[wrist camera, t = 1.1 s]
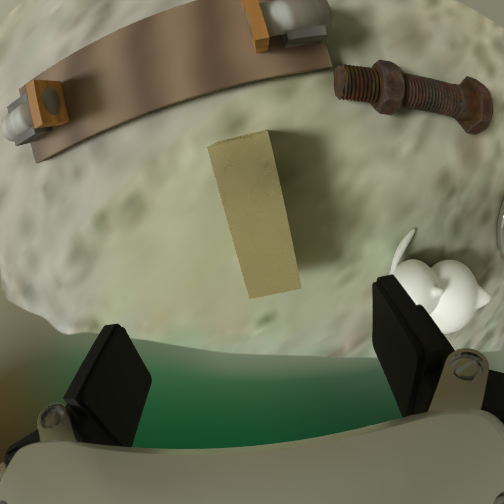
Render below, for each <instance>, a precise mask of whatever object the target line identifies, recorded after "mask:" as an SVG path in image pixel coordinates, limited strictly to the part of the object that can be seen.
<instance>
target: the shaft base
mask: <svg viewBox="0 0 504 504" xmlns="http://www.w3.org/2000/svg"><path fill="white" fill-rule="evenodd" d="M330 27H331V12H330V8H329V5H328V2H327V0H197V1H193V2H190V3H187V4H184V5H181V6H177V7H175V8H172V9H169V10H166V11H163V12H160V13H158V14H155V15H152V16H150V17H147V18H145V19H142V20H140V21H138V22H135V23H133V24H131V25H128V26H126V27H124V28H122V29H119V30H117V31H115V32H113V33H111V34H109V35H107V36H105V37H103V38H101V39H99V40H97V41H95V42H93V43H91V44H89V45H87V46H86V47H84V48H82V49H80V50H78V51H77V52H75V53H73V54H71V55H70V56H68V57H66V58H65V59H63V60H61V61H60V62H58V63H56V64H55V65H53V66H52V67H50V68H49V69H47V70H46V71H44V72H43V73H41V74H40V75H38V76H37V77H35V78H34V79H32V80H31V81H30V82H28V83H27V84H25V85H24V86H23V87H21V88H20V89H19V92H20V98H18V99H17V100H16V101H14V102H13V103H12V104H10V105H9V106H8V107H7V108H8V113H9V114H7V115H6V116H5V117H4V118H3V120H2V124H1V128H2V132H3V134H4V136H5V137H6V138H7V139H8V140H9V141H15V145H16V146H19V145H23V144H27V143H31V147H32V150H33V154H34V158H35V161H36V163H39V162H42V161H45V160H47V159H49V158H51V157H52V156H54V155H56V154H58V153H60V152H62V151H64V150H66V149H68V148H70V147H72V146H74V145H76V144H78V143H80V142H82V141H84V140H87V139H89V138H91V137H93V136H95V135H97V134H100V133H102V132H104V131H106V130H109V129H111V128H113V127H116V126H118V125H121V124H123V123H126V122H128V121H131V120H133V119H136V118H138V117H141V116H143V115H146V114H149V113H152V112H154V111H157V110H160V109H163V108H166V107H169V106H171V105H174V104H177V103H181V102H184V101H187V100H190V99H193V98H197V97H200V96H203V95H207V94H210V93H214V92H217V91H221V90H225V89H229V88H233V87H237V86H241V85H245V84H249V83H254V82H258V81H263V80H267V79H272V78H277V77H283V76H288V75H294V74H300V73H306V72H312V71H319V70H327V69H330V68H331V67H332V63H331V59H330V56H329V52H328V48H327V45H326V41H325V37H326V36H327V31H326V29H328V28H330Z"/></svg>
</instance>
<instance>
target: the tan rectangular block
mask: <svg viewBox="0 0 504 504" xmlns="http://www.w3.org/2000/svg"><path fill="white" fill-rule="evenodd" d="M207 148H208V152H209V156H210V159H211V163H212V167H213V170H214V174H215V177H216V181H217V185H218V188H219V192H220V196H221V199H222V203H223V206H224V210H225V214H226V217H227V221H228V224H229V228H230V231H231V235H232V238H233V242H234V245H235V249H236V252H237V256H238V260H239V263H240V266H241V270H242V273H243V277H244V280H245V284H246V287H247V291H248V294H249V298H256V297H261V296H266V295H271V294H276V293H281V292H286V291H291V290H296V289H301V283H300V278H299V273H298V267H297V262H296V257H295V252H294V247H293V242H292V237H291V232H290V228H289V223H288V218H287V213H286V209H285V204H284V199H283V195H282V190H281V186H280V181H279V177H278V172H277V168H276V163H275V159H274V155H273V150H272V146H271V142H270V138H269V134H268V131H267V130H265V131H260V132H256V133H251V134H247V135H243V136H239V137H235V138H231V139H227V140H223V141H219V142H216V143H214V144H212V145H211V146H209V147H207Z"/></svg>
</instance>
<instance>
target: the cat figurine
mask: <svg viewBox="0 0 504 504" xmlns="http://www.w3.org/2000/svg"><path fill="white" fill-rule="evenodd" d="M414 233H415V228H413V229H411V230H410V231H409V232H408V233H407V234H406V235H405V237H404V238H403V239H402V240H401V242H400V244H399V246H398V248H397V250H396V252H395V255H394V257H393V261H392V265H391V270H390V272H389V273H388V275H391V274H393V275H394V276H395V277H396V278H397V280H398V281H399V282H400V284H401V285H402V286H403V288H404V289H405V290H406V292H407V293H408V294H409V296H410V297H411V298H412V300H413V301H414V302H415V304H416V305H418V304H420V305H422V306H423V307H424V308H425V309H426V311H427V312H428V313H429V315H430V316H431V318H432V319H433V320H434V322H435V323H436V324H437V326H438V327H439V329H440V330H441V331H442V333H452V332H455V331H457V330H459V329H461V328H462V327H464V326H465V325H466V324H467V323H468V322H469V321H470V320H471V318H472V317H473V315H474V314H475V312H476V310H477V309H478V308H480V307H482V306H484V305H486V304H488V303H489V302H490V301H491V296H490V294H489V293H488V292H486V291H485V290H484V289H482V288H481V287H480V286H479V285H478V283H477V281H476V278H475V276H474V275H473V273H472V272H471V270H470V269H469V268H468V267H467V266H465V265H464V264H463V263H461V262H459V261H456V260H443V261H440V262H438V263H436V264H435V265H434V266H432V267H431V268H430V267H429V266H428V265H426V264H425V263H423V262H422V261H419V260H416V259H410V260H406V261H403V262H401V263H399V264H398V262H399V260H400V258H401V257H402V255H403V253H404V251H405V250H406V248H407V246H408V244H409V243H410V241H411V239H412V237H413V235H414ZM397 264H398V265H397Z"/></svg>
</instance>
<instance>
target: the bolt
mask: <svg viewBox="0 0 504 504" xmlns="http://www.w3.org/2000/svg"><path fill="white" fill-rule="evenodd" d="M334 90H335V95H336V96H337V97H338V98H339V100H340V99H341V98H342V99H343V100H345V99H346V100H348V99H350V100H354V101H356V100H357V101H360V100H361V101H362V102H363V101H365V102H367V101H368V102H369V103H370V102H371V105H372V106H373V108H374V109H375V110H376V111H378V112H379V113H380V114H387V115H392V114H394V113H396V112H397V111H398V110H399V109H400V108H401V107H407V108H414V109H418V110H424V111H429V112H435V113H439V114H444V115H449V116H451V117H453V118H455V119H456V120H457V121H458V122H459V124H460V125H461V126H462V128H463V129H464V130H465V131H466V133H469V134H474V135H475V134H478V133H480V132H482V131H483V130H485V129H486V128H487V127H488V126H489V124H490V121H491V118H492V114H493V102H492V97H491V94H490V91H489V90H488V89H487V88H486V87H485V86H484V85H483V84H482V83H481V82H479V81H478V80H476V79H474V78H471V77H468V76H467V77H466V78H465V79H464V80H463V81H462V82H461V83H460V85H457V84H450V83H446V82H443V81H439V80H434V79H431V78H425V77H421V76H417V75H411V74H406V73H402V70H401V69H400V67H398V66H397V65H396V64H394V63H392V62H390V61H384V60H378V61H377V62H376V63H375V64H374V65H373V66H372V68H370V67H367V68H366V67H362V66H360V67H359V66H356V67H355V66H354V65H353V66H351V65H348V66H347V65H343V64H341V65H340V66H339V65H338V66H337V67H336V68H335V69H334Z"/></svg>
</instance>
